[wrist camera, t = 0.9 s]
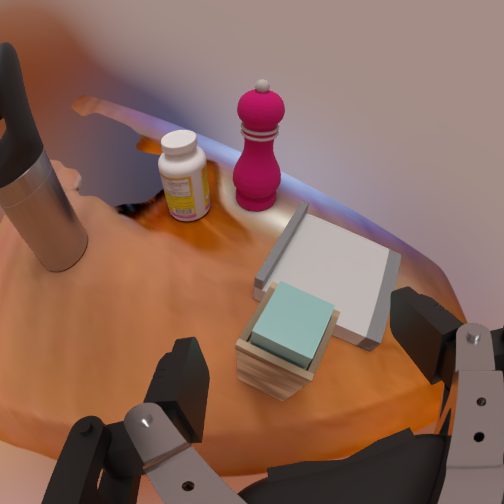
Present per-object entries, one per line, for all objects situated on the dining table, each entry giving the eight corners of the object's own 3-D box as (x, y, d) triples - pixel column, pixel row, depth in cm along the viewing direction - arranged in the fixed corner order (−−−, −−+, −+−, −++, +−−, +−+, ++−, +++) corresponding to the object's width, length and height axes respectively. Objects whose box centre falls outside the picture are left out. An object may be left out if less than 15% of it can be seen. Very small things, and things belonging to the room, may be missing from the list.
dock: (253, 298, 34) (254, 277, 30) (296, 224, 42) (302, 200, 38) (370, 351, 30) (388, 337, 26) (392, 266, 38) (407, 246, 34)
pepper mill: (277, 185, 47) (290, 74, 31) (278, 215, 43) (295, 92, 27) (235, 182, 47) (235, 71, 31) (230, 212, 43) (229, 88, 27)
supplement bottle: (196, 188, 46) (188, 121, 36) (219, 209, 43) (214, 138, 33) (162, 206, 43) (145, 138, 33) (182, 230, 40) (167, 158, 30)
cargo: (250, 345, 19) (251, 330, 16) (275, 300, 21) (280, 280, 18) (302, 370, 18) (312, 359, 15) (323, 322, 20) (335, 305, 17)
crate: (237, 379, 28) (235, 344, 18) (260, 339, 31) (272, 281, 21) (282, 401, 27) (311, 380, 16) (304, 359, 30) (340, 312, 19)
